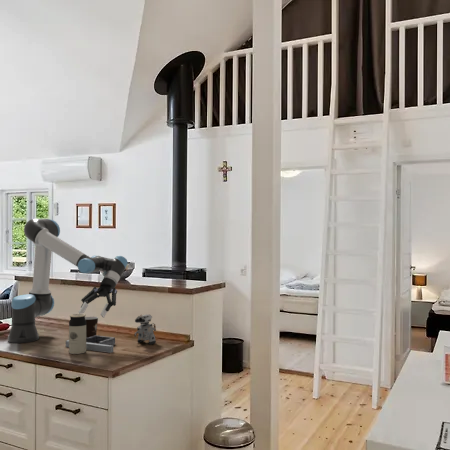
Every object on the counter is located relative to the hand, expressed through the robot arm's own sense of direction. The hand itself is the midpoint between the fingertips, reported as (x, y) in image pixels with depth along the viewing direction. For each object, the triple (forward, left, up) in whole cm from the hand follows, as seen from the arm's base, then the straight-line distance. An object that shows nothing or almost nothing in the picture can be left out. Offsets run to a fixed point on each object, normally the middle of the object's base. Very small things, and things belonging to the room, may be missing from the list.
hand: (91, 315), depth 247 cm
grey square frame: (-1, +6, -17) cm, 18 cm away
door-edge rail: (0, -2, -17) cm, 17 cm away
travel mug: (-1, -9, -17) cm, 19 cm away
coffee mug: (-19, +23, -17) cm, 34 cm away
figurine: (+18, +19, -17) cm, 31 cm away
